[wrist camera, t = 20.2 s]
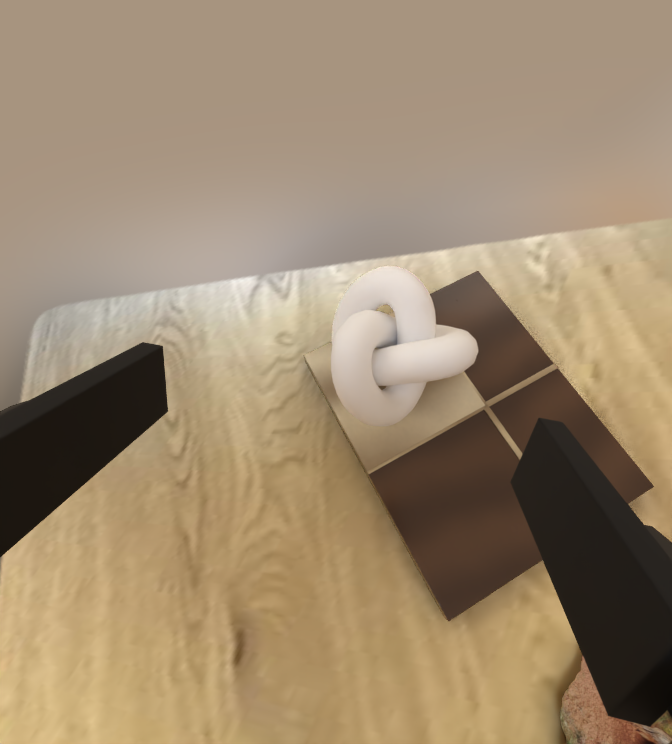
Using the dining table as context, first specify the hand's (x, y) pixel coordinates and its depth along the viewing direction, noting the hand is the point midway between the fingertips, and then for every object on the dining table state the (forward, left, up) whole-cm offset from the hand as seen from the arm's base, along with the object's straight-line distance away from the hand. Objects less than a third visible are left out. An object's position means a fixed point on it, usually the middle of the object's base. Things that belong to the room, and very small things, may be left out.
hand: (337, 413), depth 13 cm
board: (+1, +12, -20) cm, 23 cm away
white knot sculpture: (-5, +7, -19) cm, 21 cm away
